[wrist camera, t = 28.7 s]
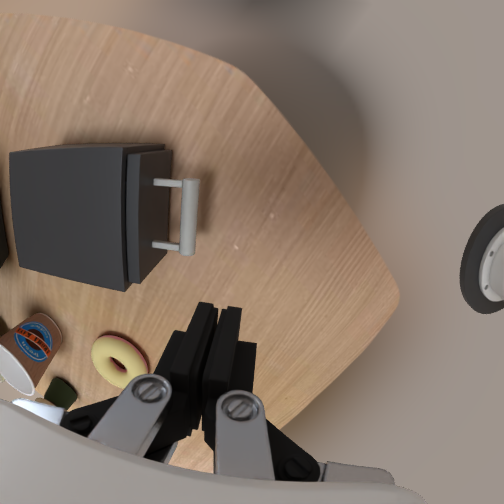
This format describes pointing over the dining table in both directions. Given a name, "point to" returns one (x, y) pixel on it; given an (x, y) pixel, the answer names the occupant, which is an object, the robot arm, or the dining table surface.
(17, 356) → the coffee cup
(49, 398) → the character mug
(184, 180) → the dark grey drawer
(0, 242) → the flower pot
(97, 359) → the donut
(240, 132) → the dining table surface
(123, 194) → the dark grey drawer cabinet
